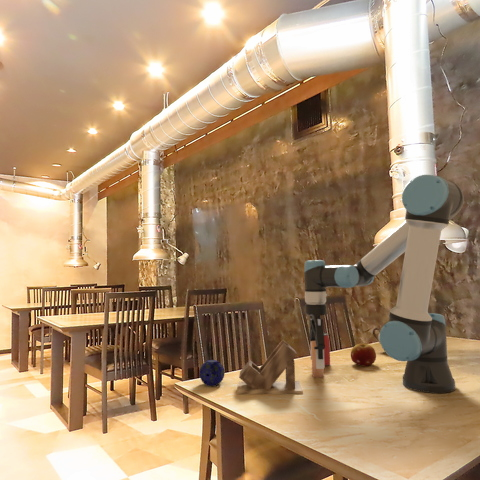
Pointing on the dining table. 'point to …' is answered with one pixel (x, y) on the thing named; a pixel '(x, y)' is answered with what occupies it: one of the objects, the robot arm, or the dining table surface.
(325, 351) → the beer can
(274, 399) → the dining table surface
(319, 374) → the peg
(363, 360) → the fruit
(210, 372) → the ball
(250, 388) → the socket
